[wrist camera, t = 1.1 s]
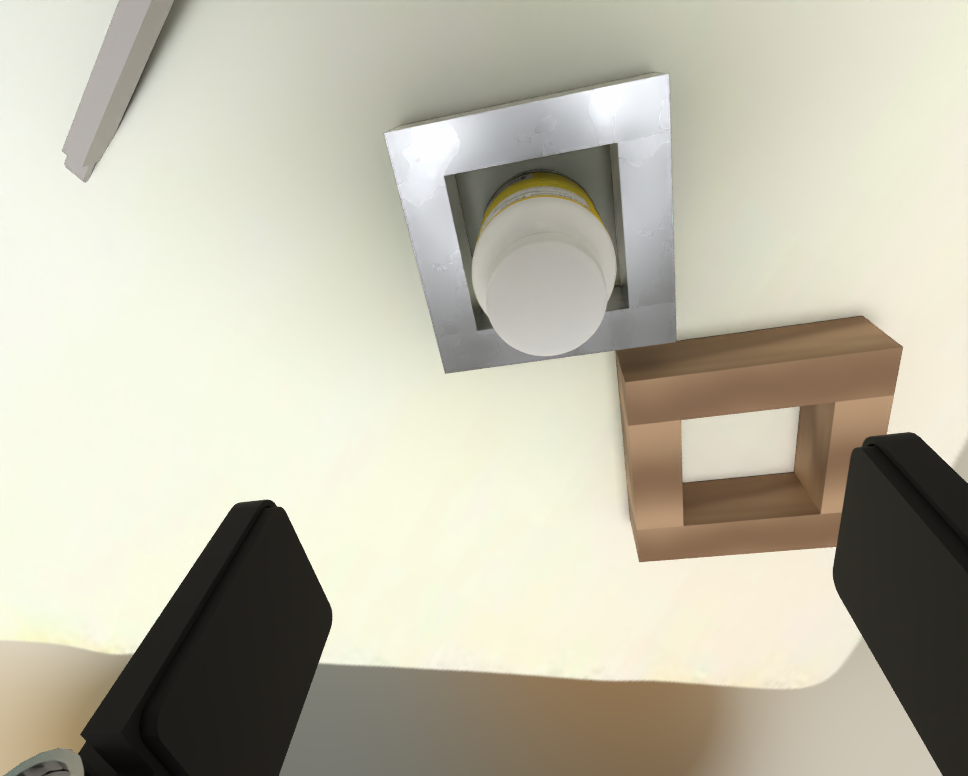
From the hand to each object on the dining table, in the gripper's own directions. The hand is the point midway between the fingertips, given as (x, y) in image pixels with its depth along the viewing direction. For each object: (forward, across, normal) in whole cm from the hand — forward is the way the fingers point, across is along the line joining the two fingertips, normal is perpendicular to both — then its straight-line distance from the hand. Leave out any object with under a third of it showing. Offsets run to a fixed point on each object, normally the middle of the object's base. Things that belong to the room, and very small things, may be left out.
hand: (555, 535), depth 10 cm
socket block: (+20, 0, 0) cm, 20 cm away
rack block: (+20, -9, +13) cm, 25 cm away
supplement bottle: (+20, 0, 0) cm, 20 cm away
